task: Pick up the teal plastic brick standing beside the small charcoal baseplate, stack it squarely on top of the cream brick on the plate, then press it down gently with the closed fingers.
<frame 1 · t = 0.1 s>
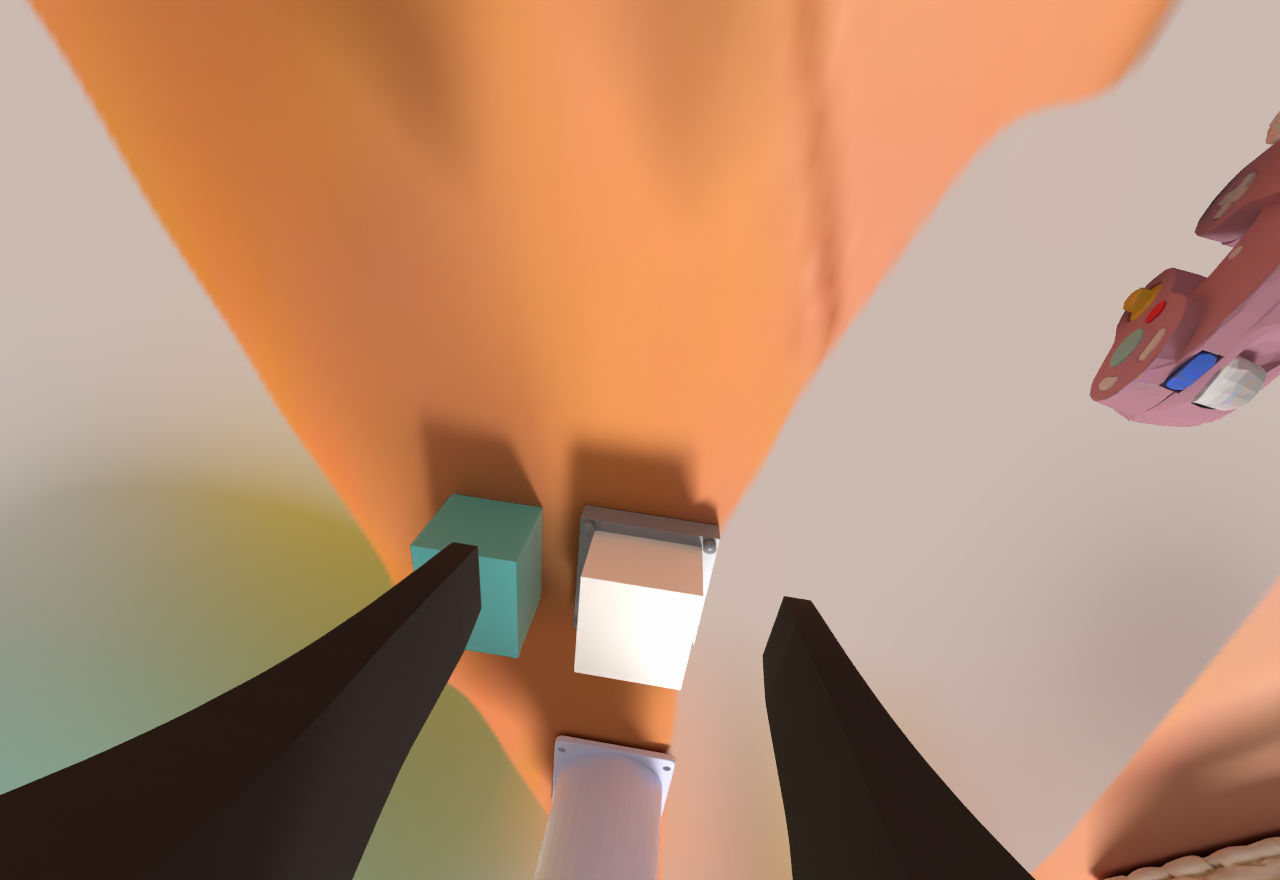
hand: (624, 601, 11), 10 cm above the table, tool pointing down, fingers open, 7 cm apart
cream brick: (637, 610, 22), point 2 cm above the table
teal brick: (500, 546, 24), on the table
baseplate: (642, 571, 24), on the table
video game controller: (1181, 260, 15), on the table
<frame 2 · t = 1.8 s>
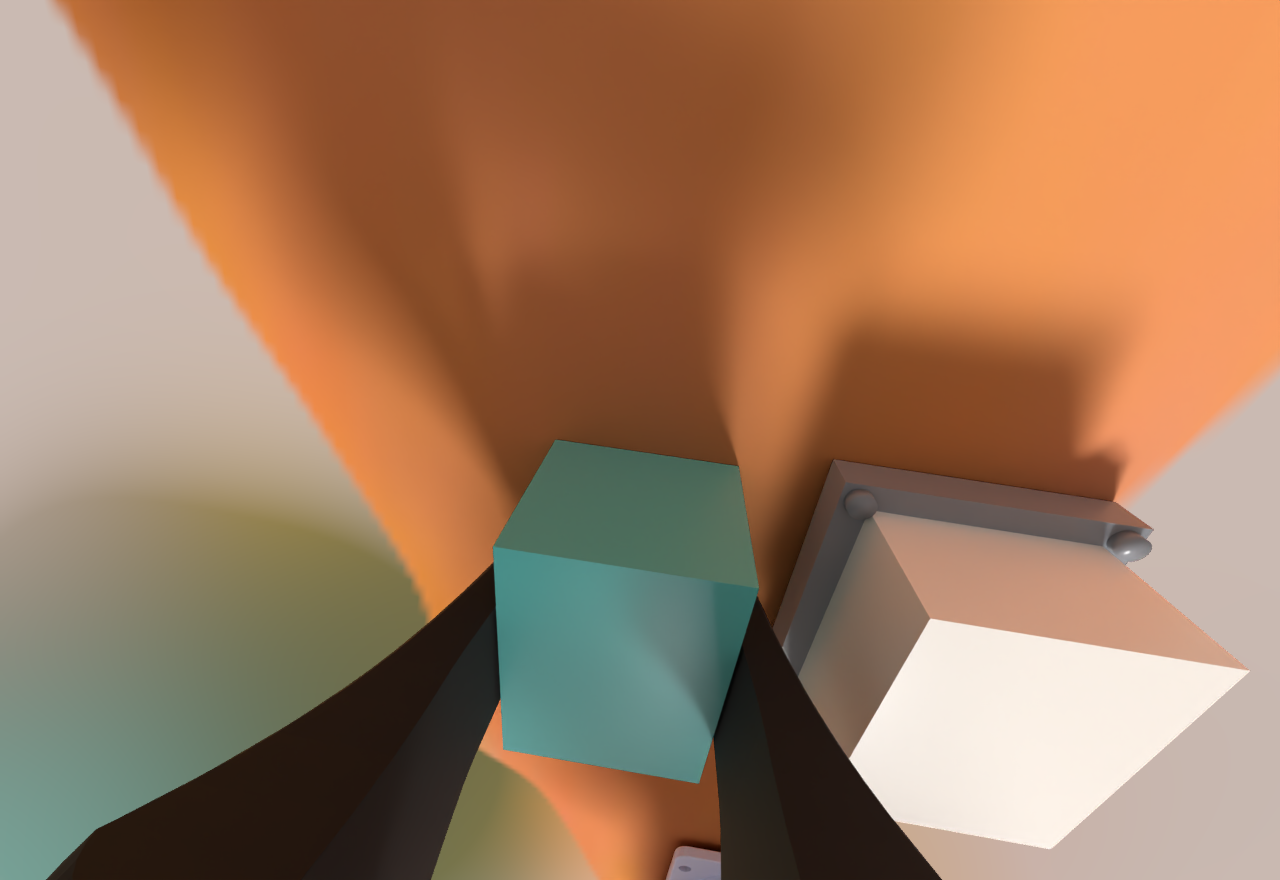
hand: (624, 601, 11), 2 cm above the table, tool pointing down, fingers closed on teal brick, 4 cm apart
cream brick: (959, 679, 10), point 2 cm above the table
teal brick: (633, 548, 13), on the table, touching gripper
baseplate: (912, 593, 12), on the table
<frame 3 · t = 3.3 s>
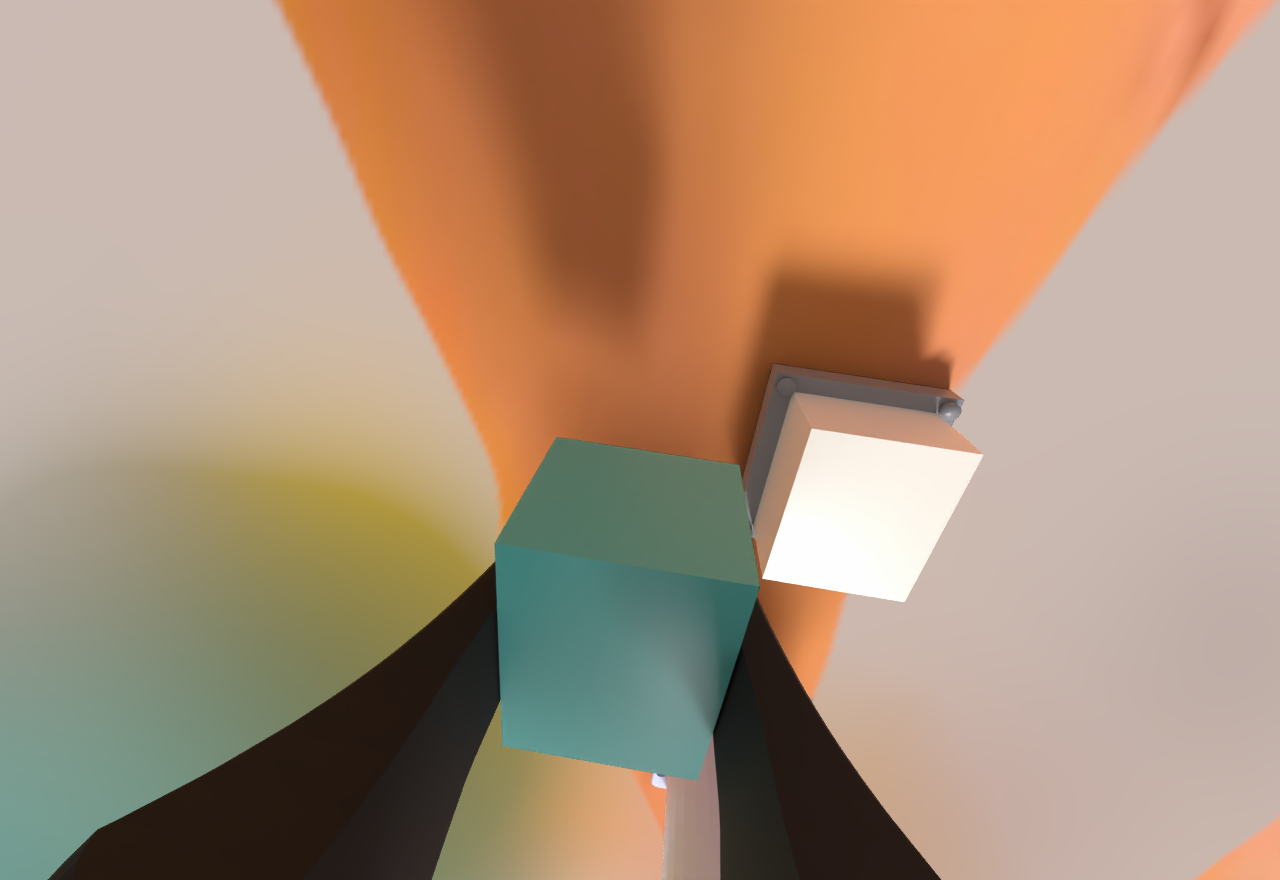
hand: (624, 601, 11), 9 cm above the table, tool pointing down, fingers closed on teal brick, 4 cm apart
cream brick: (848, 496, 16), point 2 cm above the table
teal brick: (633, 545, 13), point 7 cm above the table, touching gripper
baseplate: (830, 461, 19), on the table
when the fingers open (7 cm above the table, at t = 4.7 s): teal brick stays where it is, resting on cream brick.
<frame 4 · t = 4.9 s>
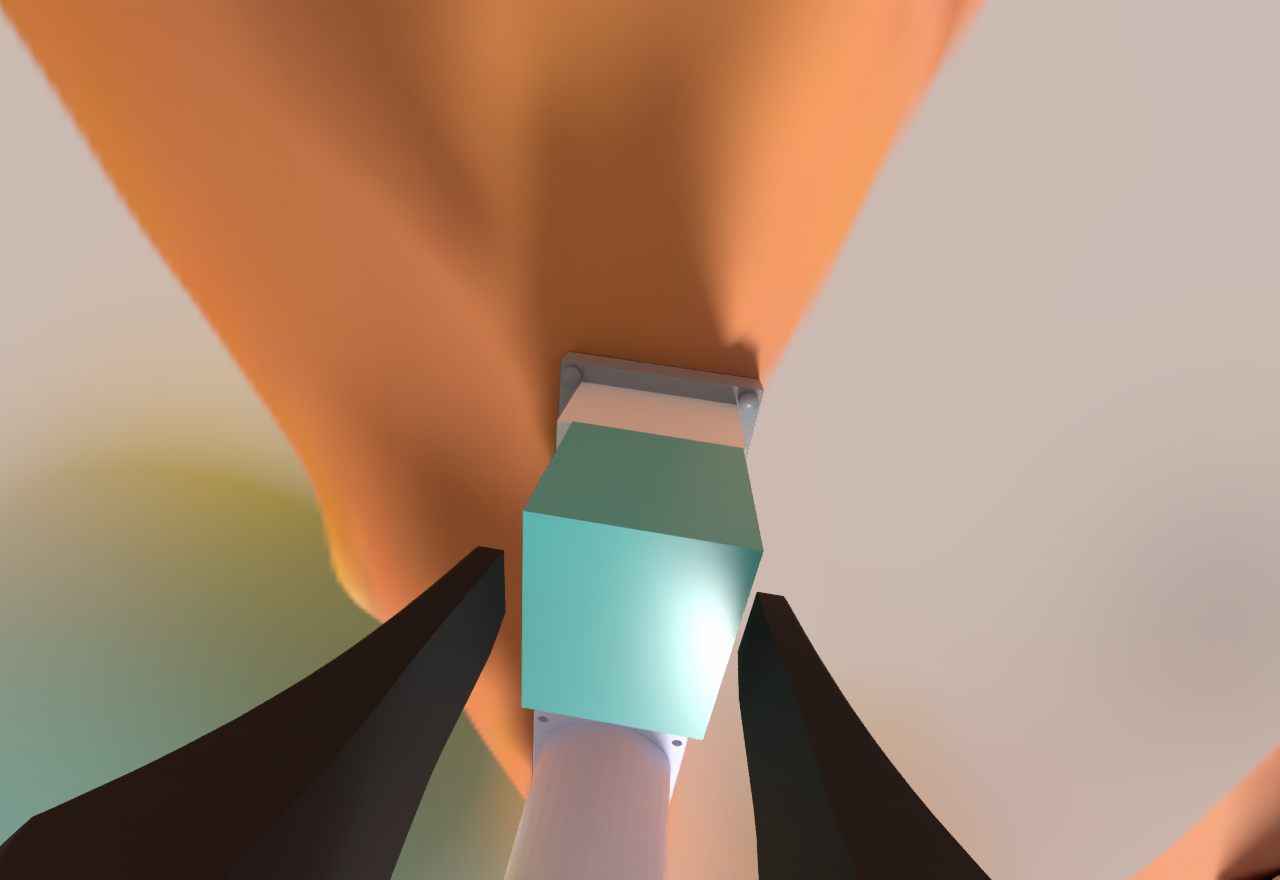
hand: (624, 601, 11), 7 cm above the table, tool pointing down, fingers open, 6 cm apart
cream brick: (642, 497, 15), point 2 cm above the table
teal brick: (642, 525, 14), point 4 cm above the table, touching cream brick
baseplate: (649, 458, 17), on the table
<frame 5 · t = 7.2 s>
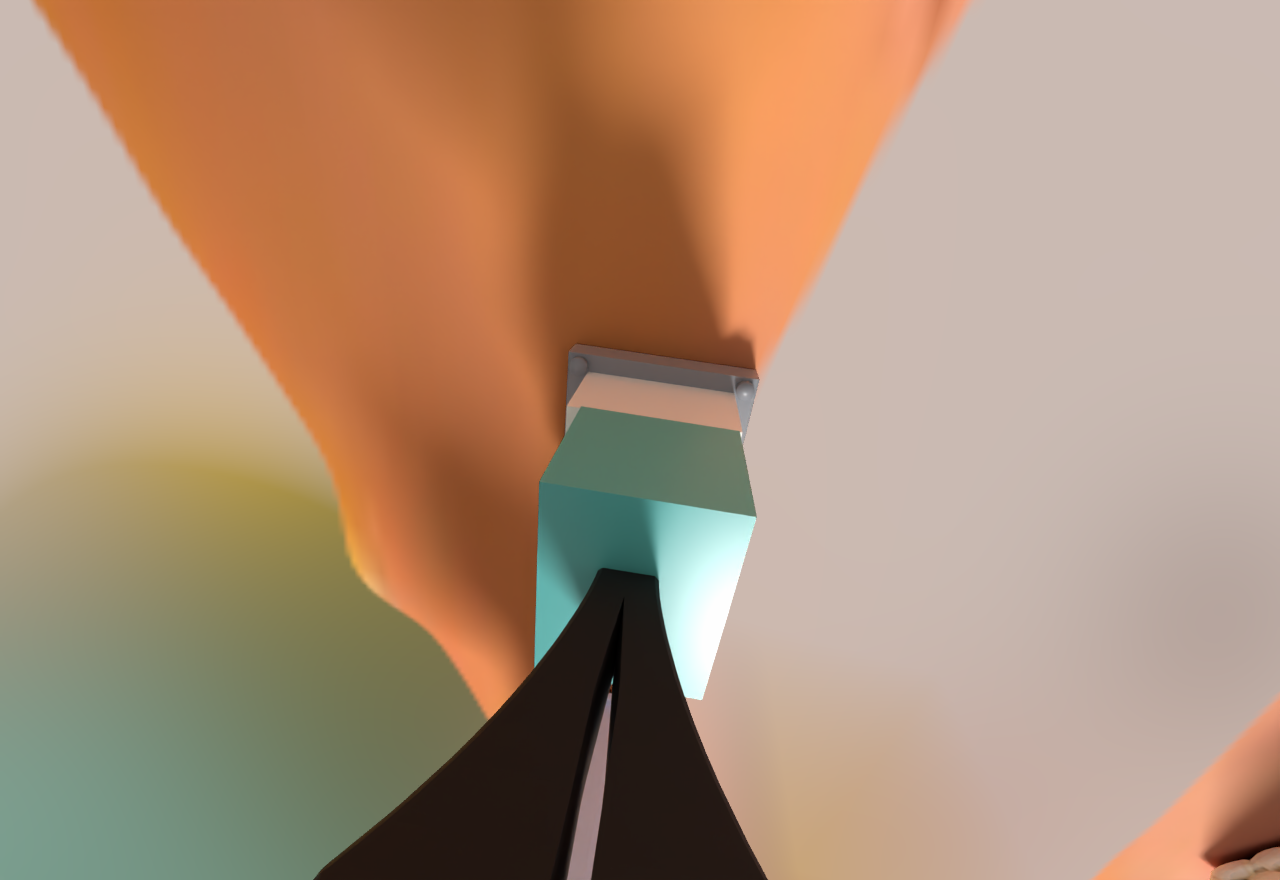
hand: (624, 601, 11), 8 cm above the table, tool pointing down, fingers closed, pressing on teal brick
cream brick: (645, 480, 16), point 2 cm above the table
teal brick: (646, 505, 14), point 4 cm above the table, touching cream brick, gripper
baseplate: (651, 446, 18), on the table
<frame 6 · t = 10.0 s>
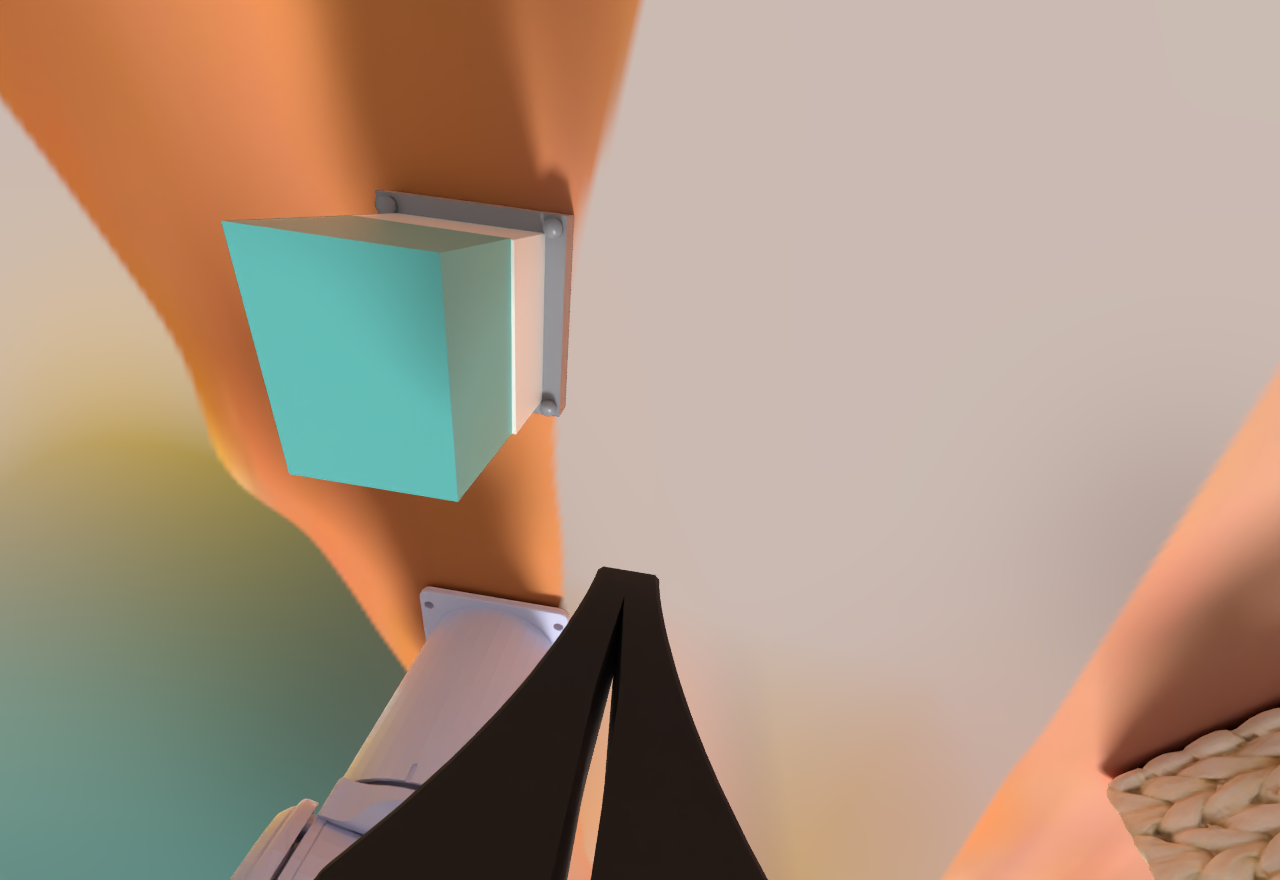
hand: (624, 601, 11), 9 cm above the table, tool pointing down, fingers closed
cream brick: (457, 323, 16), point 2 cm above the table
teal brick: (439, 334, 14), point 4 cm above the table, touching cream brick
baseplate: (486, 308, 18), on the table
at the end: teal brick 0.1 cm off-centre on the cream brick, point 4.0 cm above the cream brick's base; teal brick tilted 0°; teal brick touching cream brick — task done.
